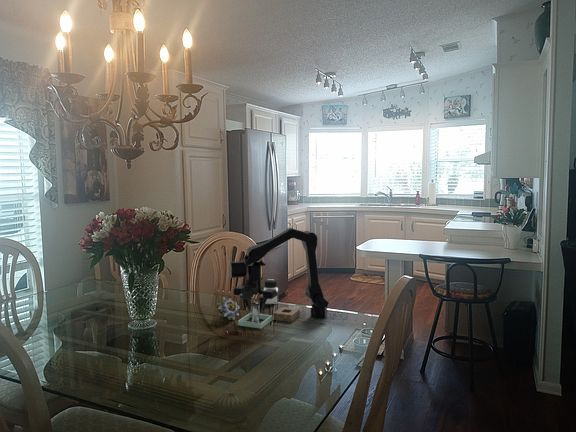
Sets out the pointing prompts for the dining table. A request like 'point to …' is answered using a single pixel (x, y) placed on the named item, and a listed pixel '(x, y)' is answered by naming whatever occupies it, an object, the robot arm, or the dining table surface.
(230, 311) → the passion flower
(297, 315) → the holder block
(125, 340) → the dining table surface
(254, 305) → the metal pin
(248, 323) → the mint green square frame
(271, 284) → the medicine bottle
